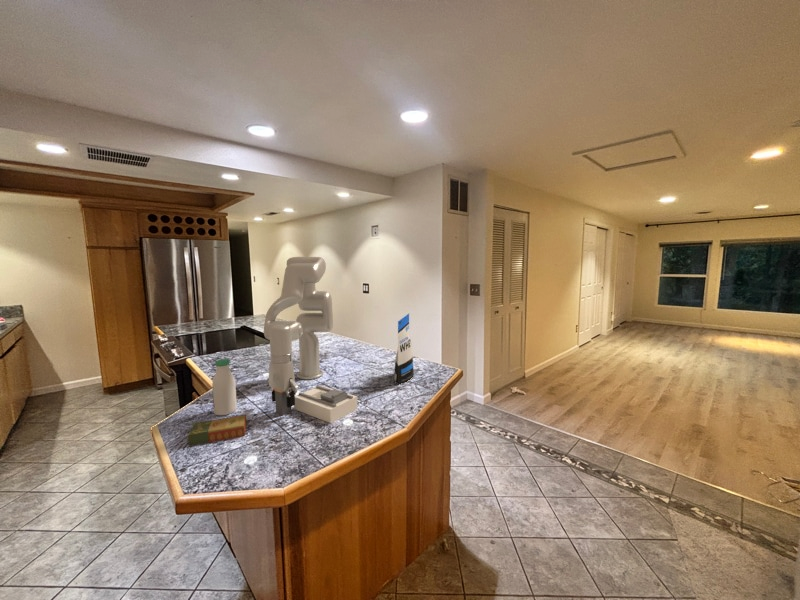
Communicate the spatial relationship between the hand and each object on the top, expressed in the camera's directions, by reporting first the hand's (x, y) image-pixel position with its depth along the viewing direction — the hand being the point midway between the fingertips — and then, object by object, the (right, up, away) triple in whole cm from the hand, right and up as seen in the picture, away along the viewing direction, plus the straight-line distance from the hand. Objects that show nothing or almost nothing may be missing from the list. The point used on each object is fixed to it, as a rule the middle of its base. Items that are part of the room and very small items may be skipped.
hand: (283, 403), depth 124 cm
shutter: (+19, +1, 0) cm, 19 cm away
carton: (-16, -6, -15) cm, 23 cm away
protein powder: (+46, +1, +39) cm, 60 cm away
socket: (+15, -3, +3) cm, 16 cm away
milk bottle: (-23, -4, +1) cm, 23 cm away
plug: (0, -4, 0) cm, 4 cm away
